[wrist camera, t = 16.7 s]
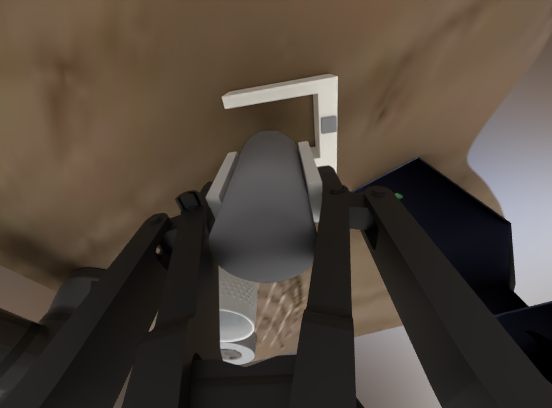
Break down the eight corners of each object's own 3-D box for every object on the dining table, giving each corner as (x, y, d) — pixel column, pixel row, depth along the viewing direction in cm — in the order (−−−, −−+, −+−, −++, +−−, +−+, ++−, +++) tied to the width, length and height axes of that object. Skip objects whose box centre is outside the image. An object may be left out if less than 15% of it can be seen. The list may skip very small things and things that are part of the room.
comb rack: (258, 209, 35) (256, 227, 32) (228, 91, 25) (220, 97, 21) (330, 200, 34) (336, 218, 31) (329, 73, 24) (339, 76, 20)
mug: (184, 236, 39) (149, 303, 28) (236, 220, 37) (219, 287, 26) (223, 281, 47) (207, 346, 37) (268, 270, 45) (265, 336, 34)
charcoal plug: (248, 189, 19) (227, 286, 11) (233, 135, 16) (190, 214, 8) (302, 182, 19) (320, 278, 11) (296, 125, 16) (316, 198, 8)
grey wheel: (194, 332, 62) (189, 352, 58) (233, 318, 57) (230, 338, 53) (229, 350, 70) (226, 368, 66) (266, 338, 65) (265, 358, 61)
